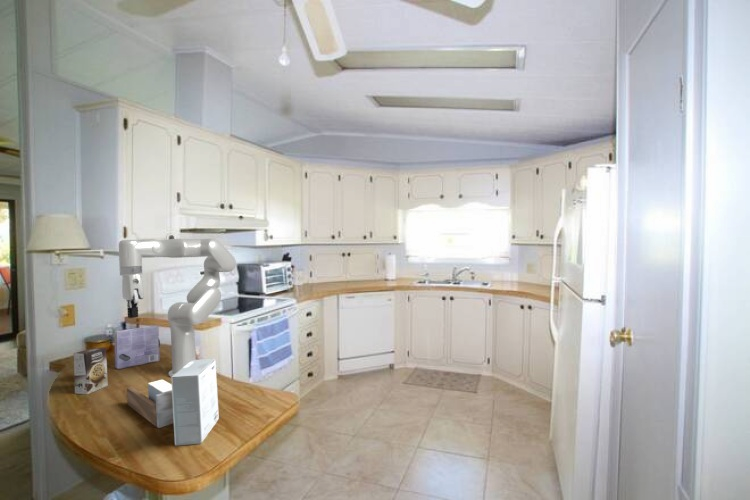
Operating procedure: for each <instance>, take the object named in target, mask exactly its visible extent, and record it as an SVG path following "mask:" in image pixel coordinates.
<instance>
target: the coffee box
mask: <svg viewBox="0 0 750 500" xmlns="http://www.w3.org/2000/svg"><path fill="white" fill-rule="evenodd" d="M73 372H74V394H77V395H78V394H79V395H89V394H92V393H94V392H96V391H98V390H101V389H104V388H106V387H108V385H109V384H108V362H107V347H101V346H99V347H91V348H88V349H84V350H80V351H77V352H74V353H73Z"/></svg>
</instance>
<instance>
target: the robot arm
mask: <svg viewBox="0 0 750 500" xmlns="http://www.w3.org/2000/svg"><path fill="white" fill-rule="evenodd" d="M204 257H205V259H204V262H203V269H204V273H203V274H204V275H203V277H202V278H201V279H200V280H199V281H198V282H197V283H196V284H195V285H194V286H193V287H192V288H191V289H190V291H188V293H187V295H186V302H185V301H184V302H183V301H180V302H175V303H172V305H171V306H170V307H169V308H168V310H167V319H168V324H169V328H170V329H169V330H170V344H171V345H170V347H171V370H169V371H168V376H169V377H170V378H171V377H172V376H173V375H174V374H176V373H177V372H178V371H179V370H181V369H182V368H183V367H184V366H185V365H187V364H188V363H189V362H190V361H192V360H197V358H196V334H195V327H194V326H197V325H200V324H202V323H203V322H205V321H206V319H207V318H209V316H210V315H211V314H212V313H213V312H214V311H215V309H216V308H217V307H218V306H219V304H220V302H221V300H222V299H221V298H222V293H221V291H220V289H219V287H220V285H221V276H220V273H229V272H230V273H231V272H232V271H234V269H235V268H236V265H237V263H236V262H237V261H236V258H235V256H233V254H232V253H231V252H230V251H229V250H228V248H227V247H225V245H224V244H223V243H222V242H220V241H219V240H218V239H216V238H168V239H154V238H150V239H147V238H145V239H124V240H123V239H122V240H120V241H119V242H118V262H119V276H122V279H121V283H122V285H121V289H122V291H121V293H122V298H123V299H124V300H126V307H127V318H128V319H134V318H138V317H139V303H140V301H139V300H144V298H145V296H144V285H143V277H142V275H143V258H145V259H146V258H170V259H171V258H172V259H173V258H174V259H175V258H176V259H177V258H179V259H180V258H204Z"/></svg>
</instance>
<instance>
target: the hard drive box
mask: <svg viewBox="0 0 750 500" xmlns="http://www.w3.org/2000/svg"><path fill="white" fill-rule="evenodd" d="M170 379H171V383H170V384H172V401H173V419H174V423H173V432H174V434H173V436H174V438H173V439H174V446H187V445H189V446H190V445H198V444H199V445H200V444H202V443H203V442H204V440H205V439H206V438H207V436H208V435H209V433H210V432H211V431H212V429H213V428H214V426H215V425H216V424H217V423H218V421H219V420H220V416H219V397H218V384H217V383H218V382H217V364H216V359H215V358H206V359H204V358H203V359H196V360H192V361H190V362H189V363H188V364H187V365H185V366H184V367H183V368H182V369H181V370H179V371H178V372H177V373H176V374H174V375H173V376H172V377H171V376H170Z"/></svg>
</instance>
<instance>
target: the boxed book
mask: <svg viewBox="0 0 750 500" xmlns="http://www.w3.org/2000/svg"><path fill="white" fill-rule="evenodd" d="M147 388H148V389H147V390H148V392H147V395H148V396H147V397H148V398H149V399H151V400H152V401H154V402H155V403H156V395H157V394H161V393H164V392H168V391H171V390H172V383H170V382H168V381H166V380H164V379H158V380H155V381H150V382H148V383H147Z"/></svg>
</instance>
